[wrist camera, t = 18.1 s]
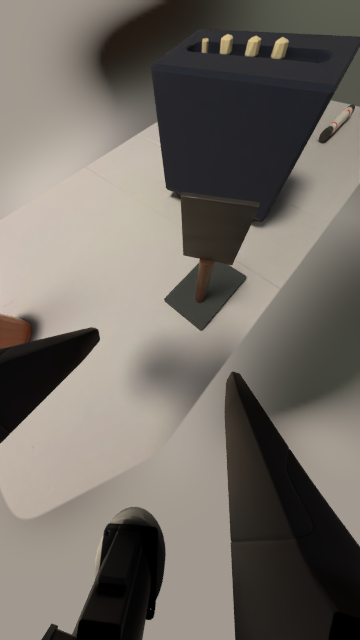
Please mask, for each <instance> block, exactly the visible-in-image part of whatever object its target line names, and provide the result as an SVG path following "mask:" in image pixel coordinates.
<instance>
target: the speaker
mask: <svg viewBox="0 0 360 640" xmlns="http://www.w3.org/2000/svg"><path fill="white" fill-rule="evenodd" d="M359 47H360V37H352V36H332V35H311V34H290V33H269V32H249V31H228V30H206V29H199V30H197V31H196V32H195V33H194V34H192V35H191V36H189V37H188V38H187V39H185V40H184V41H183V42H181V43H180V44H179V45H177V46H176V47H175V48H173V49H172V50H170V51H169V52H168V53H166V54H165V55H164V56H163V57H161V58H160V59H158V60H157V61H156V62H154V63H153V65H152V67H151V72H152V80H153V88H154V96H155V104H156V111H157V119H158V127H159V135H160V143H161V151H162V159H163V167H164V175H165V183H166V188H167V190H170V191H173V192H176V193H177V194H178V196H180V197H181V194H182V192H187V193H194V194H202V195H209V196H216V197H224V198H231V199H239V200H246V201H253V202H260V205H259V208H258V210H257V213H256V215H255V217H254V219H256V220H259V221H264V220H265V218H266V216H267V214H268V213H269V211H270V209H271V207H272V205H273V204H274V202H275V200H276V198H277V197H278V195H279V193H280V191H281V189H282V188H283V186H284V184H285V182H286V180H287V179H288V177H289V175H290V173H291V171H292V169H293V168H294V166H295V164H296V162H297V160H298V158H299V157H300V155H301V153H302V151H303V149H304V148H305V146H306V144H307V142H308V140H309V138H310V137H311V135H312V133H313V131H314V129H315V127H316V126H317V124H318V122H319V120H320V118H321V116H322V115H323V113H324V111H325V109H326V107H327V105H328V104H329V102H330V100H331V98H332V96H333V95H334V92H335V91H336V89H337V87H338V85H339V83H340V82H341V80H342V78H343V76H344V74H345V73H346V71H347V69H348V67H349V65H350V63H351V62H352V60H353V58H354V56H355V54H356V52H357V51H358V49H359ZM254 219H253V220H254Z"/></svg>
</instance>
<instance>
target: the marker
mask: <svg viewBox="0 0 360 640" xmlns="http://www.w3.org/2000/svg"><path fill="white" fill-rule="evenodd" d="M354 109H355V105H350V106H349V107H347V108H346V109H345V110H344V111H343V112H342V113H341V114H340V115H339V116H338V117H337V118H336V119H335V120H334V121H333V122H332V123H331V124H330V125H329V126H328V127H327V128H326V129H325V130H324V131H323V132H322V133H321V135H320V137H319V141H320V142H324V141H325V140H326V139H327V138H329V137H330V136H331V135H332V134H333V133H334V132H335V131H336V130H337V129H338V128H339V127H340V126H341V125H342V124H343V123H344V122H345V121H346V119H347V118H348V117H349V116H350V115H351V114H352V113H353V111H354Z"/></svg>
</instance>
